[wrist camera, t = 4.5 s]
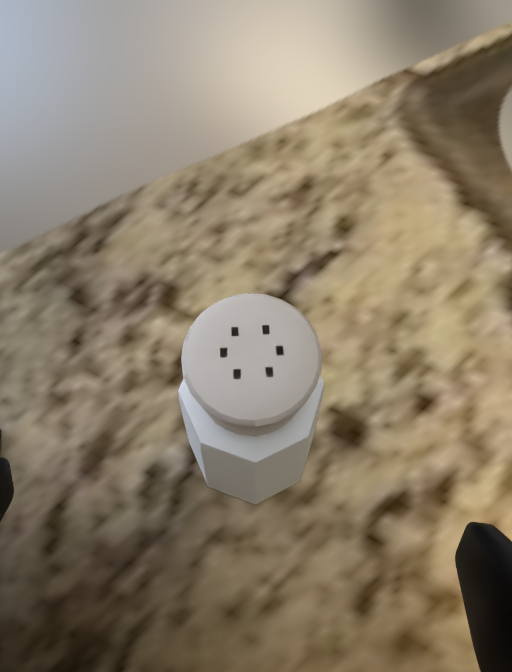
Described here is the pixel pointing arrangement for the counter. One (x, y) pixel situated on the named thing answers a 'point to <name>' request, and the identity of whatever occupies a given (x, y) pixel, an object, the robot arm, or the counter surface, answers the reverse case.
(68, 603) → the counter surface
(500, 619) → the robot arm
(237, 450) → the salt shaker
